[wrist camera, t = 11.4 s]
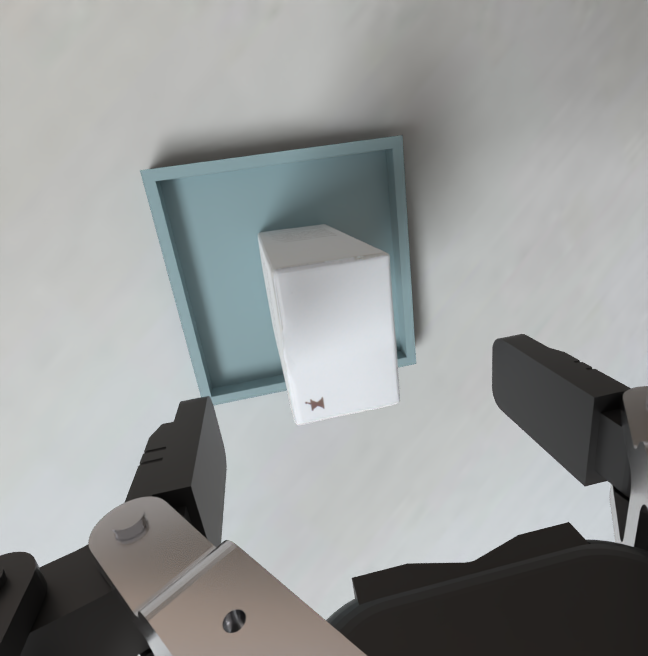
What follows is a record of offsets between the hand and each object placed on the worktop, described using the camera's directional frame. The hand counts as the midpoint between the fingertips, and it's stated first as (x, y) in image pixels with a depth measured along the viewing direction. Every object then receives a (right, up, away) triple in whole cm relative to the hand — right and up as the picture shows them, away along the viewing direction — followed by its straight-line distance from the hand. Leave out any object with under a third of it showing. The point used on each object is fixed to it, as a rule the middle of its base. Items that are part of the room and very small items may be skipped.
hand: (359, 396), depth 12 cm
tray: (-3, +5, +15) cm, 16 cm away
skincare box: (-3, +5, +14) cm, 16 cm away
